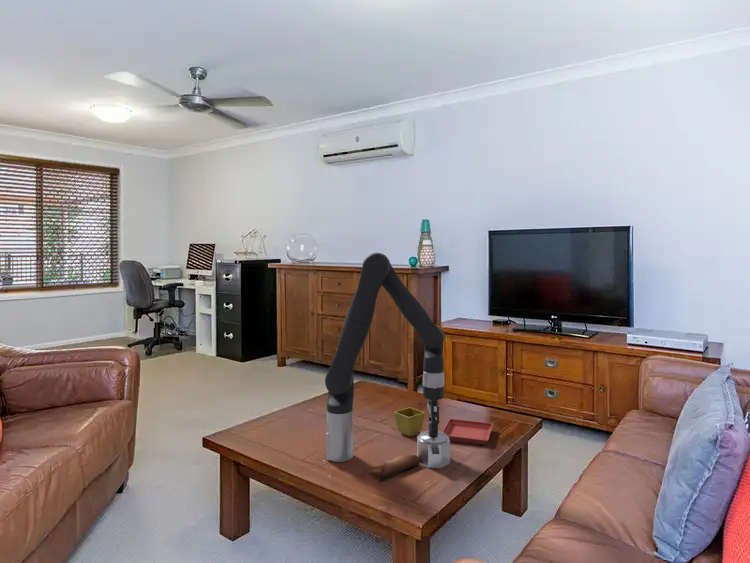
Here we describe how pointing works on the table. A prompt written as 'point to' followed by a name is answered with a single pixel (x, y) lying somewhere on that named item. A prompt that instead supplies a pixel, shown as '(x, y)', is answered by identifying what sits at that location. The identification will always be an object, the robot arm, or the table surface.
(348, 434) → the robot arm
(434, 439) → the lid
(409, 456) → the sunglasses case
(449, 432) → the plant saucer
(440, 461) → the pot
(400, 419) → the flower pot
